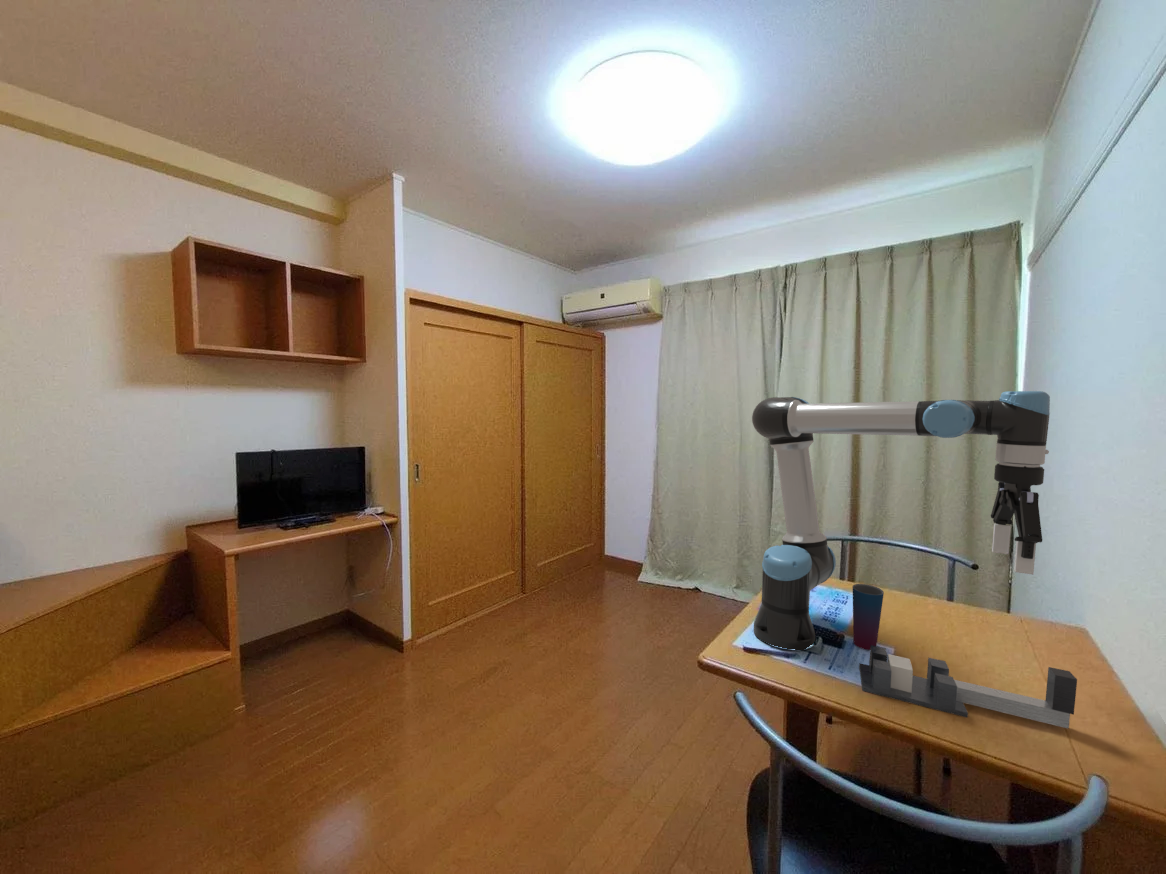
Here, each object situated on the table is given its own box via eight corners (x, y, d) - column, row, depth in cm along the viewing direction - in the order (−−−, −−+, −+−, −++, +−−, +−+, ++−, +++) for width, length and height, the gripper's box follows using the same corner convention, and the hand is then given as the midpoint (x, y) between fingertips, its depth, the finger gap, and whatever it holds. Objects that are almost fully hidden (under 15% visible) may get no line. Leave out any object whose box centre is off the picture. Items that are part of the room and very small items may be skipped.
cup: (885, 653, 114) (888, 595, 112) (855, 650, 115) (858, 593, 114) (873, 639, 120) (876, 585, 119) (845, 636, 122) (848, 582, 120)
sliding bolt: (937, 696, 96) (941, 651, 95) (934, 688, 98) (937, 644, 97) (1072, 729, 86) (1077, 679, 85) (1064, 719, 89) (1069, 671, 88)
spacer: (911, 692, 97) (888, 687, 99) (908, 680, 101) (886, 675, 103) (912, 670, 96) (890, 665, 98) (909, 658, 101) (888, 654, 103)
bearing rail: (862, 690, 99) (863, 664, 99) (859, 666, 108) (860, 642, 107) (967, 717, 91) (969, 689, 90) (954, 689, 100) (956, 663, 99)
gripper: (1072, 474, 83) (1062, 586, 85) (1020, 458, 105) (1012, 548, 107) (1018, 471, 86) (1009, 579, 88) (978, 456, 108) (971, 543, 110)
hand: (1011, 562), depth 97 cm, fingers open, 13 cm apart
